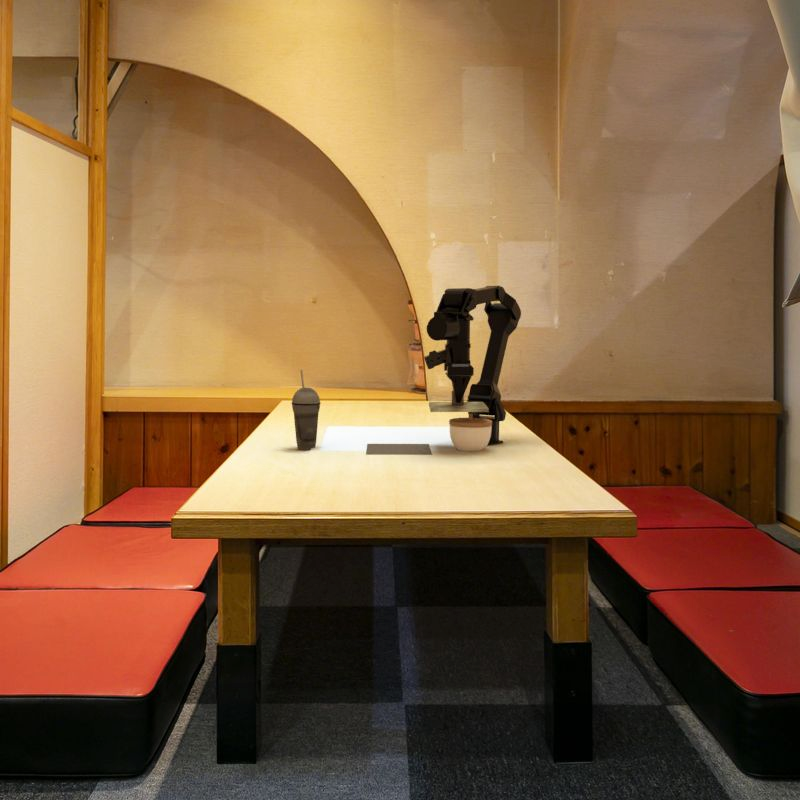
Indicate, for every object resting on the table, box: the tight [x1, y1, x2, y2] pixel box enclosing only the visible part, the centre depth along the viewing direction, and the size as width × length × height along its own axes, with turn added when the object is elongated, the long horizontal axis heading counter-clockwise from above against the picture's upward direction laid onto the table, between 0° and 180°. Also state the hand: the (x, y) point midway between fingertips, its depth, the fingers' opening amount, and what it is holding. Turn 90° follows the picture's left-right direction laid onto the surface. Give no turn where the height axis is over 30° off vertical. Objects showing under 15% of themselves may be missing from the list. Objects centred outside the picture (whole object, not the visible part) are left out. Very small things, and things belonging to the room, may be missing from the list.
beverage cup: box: [291, 369, 321, 451], centre depth 192 cm, size 7×7×20 cm
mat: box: [365, 443, 433, 456], centre depth 191 cm, size 16×16×1 cm
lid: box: [428, 390, 489, 413], centre depth 191 cm, size 14×14×4 cm
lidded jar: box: [448, 414, 492, 452], centre depth 191 cm, size 11×11×9 cm
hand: (457, 401), depth 191 cm, fingers closed on lid, 3 cm apart
